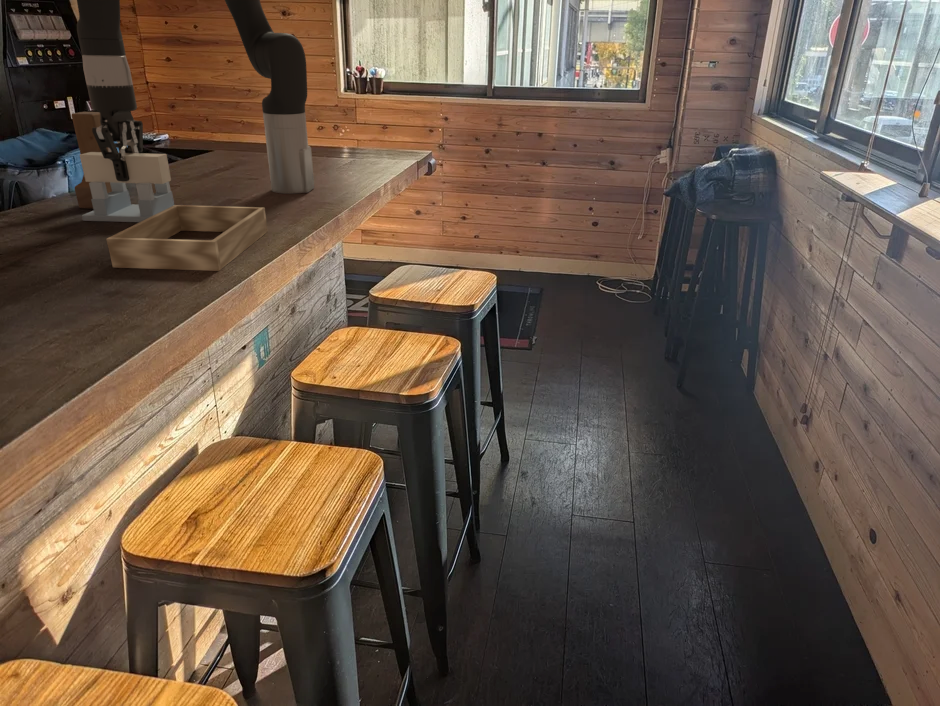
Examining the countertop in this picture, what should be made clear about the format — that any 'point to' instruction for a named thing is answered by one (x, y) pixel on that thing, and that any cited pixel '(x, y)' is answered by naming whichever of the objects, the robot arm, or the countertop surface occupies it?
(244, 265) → the countertop surface
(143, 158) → the clay strip
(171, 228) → the tray frame
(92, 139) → the wooden block
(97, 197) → the rack
